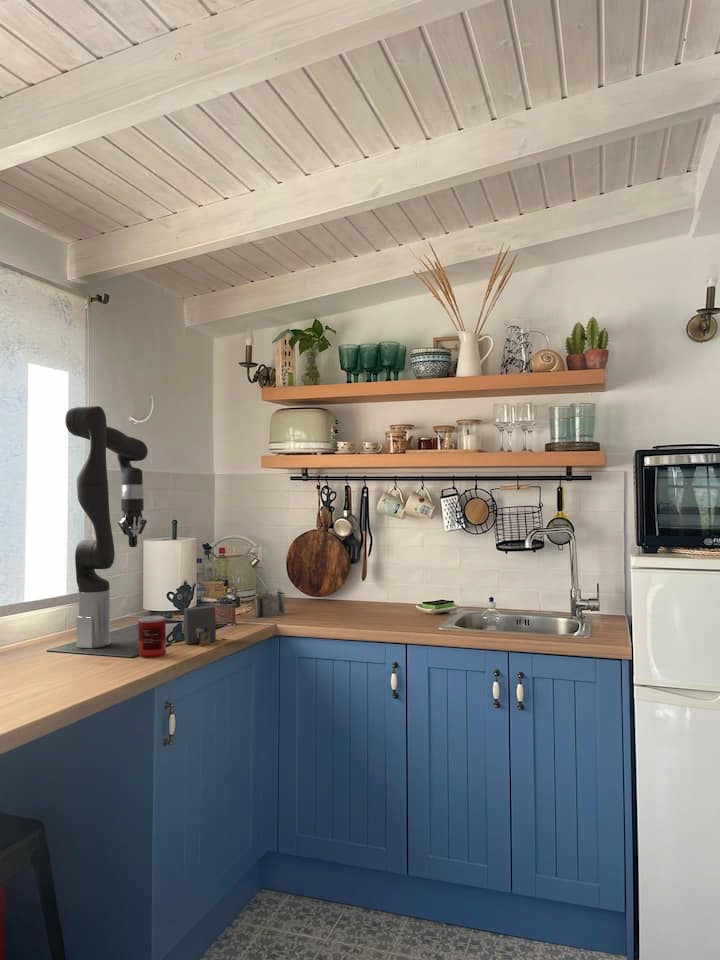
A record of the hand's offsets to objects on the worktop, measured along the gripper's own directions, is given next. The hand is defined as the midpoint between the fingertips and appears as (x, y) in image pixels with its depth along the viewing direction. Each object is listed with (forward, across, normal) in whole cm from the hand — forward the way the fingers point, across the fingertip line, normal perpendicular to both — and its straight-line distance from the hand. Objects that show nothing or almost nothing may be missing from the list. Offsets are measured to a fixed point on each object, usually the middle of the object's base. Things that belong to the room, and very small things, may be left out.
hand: (133, 546), depth 260 cm
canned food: (+29, -32, -33) cm, 54 cm away
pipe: (+29, -8, -32) cm, 44 cm away
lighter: (+29, +18, -26) cm, 43 cm away
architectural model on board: (+30, +40, -32) cm, 59 cm away
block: (+29, -12, -36) cm, 48 cm away
